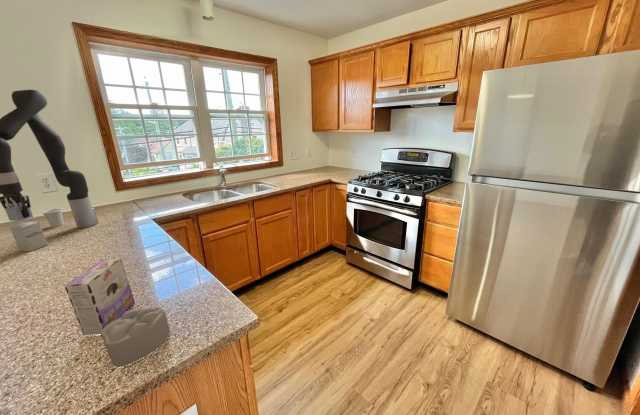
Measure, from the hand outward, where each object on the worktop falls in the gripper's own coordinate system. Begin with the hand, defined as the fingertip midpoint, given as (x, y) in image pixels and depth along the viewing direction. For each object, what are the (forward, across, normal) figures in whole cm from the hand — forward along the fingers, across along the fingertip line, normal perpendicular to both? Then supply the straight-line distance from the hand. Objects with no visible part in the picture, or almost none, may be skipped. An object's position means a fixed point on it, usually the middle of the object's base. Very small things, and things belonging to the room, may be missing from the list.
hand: (21, 217), depth 125 cm
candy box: (+17, -87, +43) cm, 98 cm away
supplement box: (+16, 0, 0) cm, 16 cm away
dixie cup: (+16, +23, -29) cm, 40 cm away
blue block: (+1, 0, 0) cm, 1 cm away
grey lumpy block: (+17, -104, +51) cm, 117 cm away
